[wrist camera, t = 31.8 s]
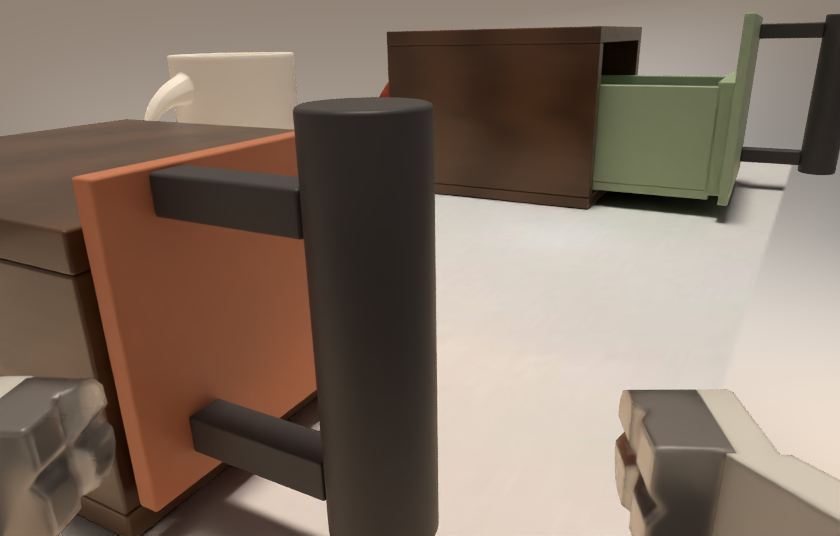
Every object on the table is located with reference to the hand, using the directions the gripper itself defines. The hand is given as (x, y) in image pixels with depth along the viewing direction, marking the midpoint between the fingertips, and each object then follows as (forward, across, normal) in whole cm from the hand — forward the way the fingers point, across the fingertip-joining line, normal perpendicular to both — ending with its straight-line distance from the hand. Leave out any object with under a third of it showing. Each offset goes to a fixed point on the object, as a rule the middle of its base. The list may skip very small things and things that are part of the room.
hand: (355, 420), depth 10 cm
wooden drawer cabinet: (+45, -6, +6) cm, 46 cm away
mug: (+36, +16, +6) cm, 40 cm away
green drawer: (+40, -17, +5) cm, 44 cm away
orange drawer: (+11, +7, +5) cm, 14 cm away
